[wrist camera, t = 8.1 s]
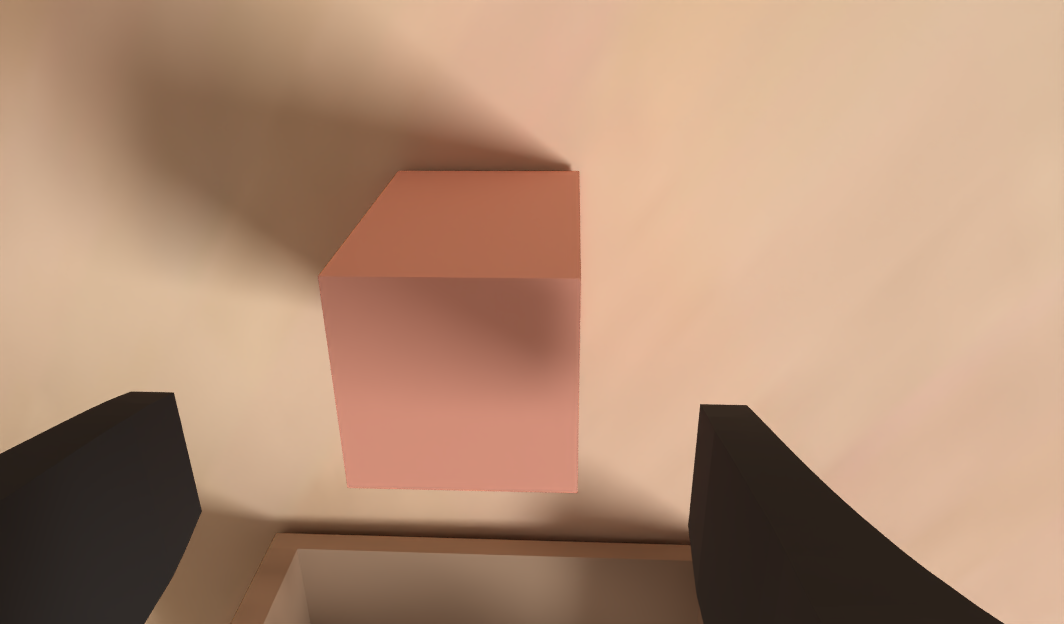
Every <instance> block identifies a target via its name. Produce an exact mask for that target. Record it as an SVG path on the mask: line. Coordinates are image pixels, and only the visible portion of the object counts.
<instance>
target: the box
mask: <svg viewBox="0 0 1064 624" xmlns="http://www.w3.org/2000/svg"><path fill="white" fill-rule="evenodd" d="M231 624H703V620H702V616H701V611H700V607H699V603H698V599H697V594H696V587H695V579H694V571H693V563H692V555H691V546H690V545H669V544H635V543H601V542H567V541H533V540H498V539H464V538H430V537H396V536H362V535H328V534H294V533H276V534H275V536H274V538H273V540H272V542H271V544H270V546H269V548H268V550H267V552H266V554H265V556H264V558H263V560H262V562H261V564H260V566H259V568H258V570H257V572H256V574H255V576H254V578H253V580H252V582H251V584H250V586H249V588H248V590H247V592H246V594H245V596H244V598H243V600H242V602H241V604H240V606H239V608H238V610H237V612H236V614H235V616H234V618H233V620H232V622H231Z"/></svg>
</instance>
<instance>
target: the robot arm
mask: <svg viewBox="0 0 1064 624" xmlns="http://www.w3.org/2000/svg"><path fill="white" fill-rule="evenodd" d="M201 512H202V510H201V506H200V502H199V498H198V493H197V489H196V485H195V481H194V476H193V472H192V468H191V464H190V459H189V455H188V451H187V447H186V442H185V438H184V434H183V430H182V425H181V421H180V417H179V413H178V408H177V404H176V400H175V396H174V393H170V392H129V393H126V394H124V395H121V396H118V397H116V398H113V399H111V400H109V401H106V402H104V403H102V404H100V405H98V406H95V407H93V408H91V409H89V410H87V411H85V412H83V413H81V414H79V415H77V416H75V417H73V418H71V419H69V420H67V421H65V422H62V423H60V424H59V425H57V426H55V427H53V428H51V429H49V430H47V431H45V432H43V433H41V434H39V435H37V436H35V437H33V438H31V439H29V440H27V441H25V442H23V443H21V444H19V445H17V446H15V447H13V448H11V449H9V450H7V451H5V452H3V453H1V454H0V624H144V623H145V622H146V620H147V618H148V617H149V615H150V614H151V612H152V610H153V609H154V607H155V605H156V604H157V602H158V600H159V599H160V597H161V596H162V594H163V592H164V591H165V589H166V587H167V586H168V584H169V582H170V580H171V579H172V577H173V575H174V573H175V571H176V569H177V567H178V564H179V562H180V560H181V558H182V556H183V554H184V552H185V549H186V547H187V545H188V543H189V540H190V538H191V535H192V533H193V531H194V528H195V526H196V523H197V521H198V519H199V516H200V514H201ZM688 528H689V537H690V546H691V555H692V563H693V571H694V579H695V587H696V594H697V599H698V603H699V607H700V611H701V616H702V620H703V624H1004V623H1002V622H1001V621H999V620H998V619H996V618H995V617H993V616H992V615H990V614H989V613H987V612H986V611H984V610H983V609H981V608H980V607H978V606H977V605H975V604H974V603H972V602H971V601H970V600H968V599H967V598H966V597H964V596H963V595H961V594H960V593H959V592H957V591H956V590H954V589H953V588H952V587H950V586H949V585H947V584H946V583H945V582H943V581H942V580H940V579H939V578H938V577H936V576H935V575H933V574H932V573H931V572H929V571H928V570H927V569H925V568H924V567H923V566H921V565H920V564H919V563H917V562H916V561H915V560H914V559H912V558H911V557H910V556H908V555H907V554H906V553H905V552H903V551H902V550H901V549H899V548H898V547H897V546H896V545H895V544H894V543H892V542H891V541H890V540H889V539H888V538H886V537H885V536H884V535H883V534H882V533H880V532H879V531H878V530H877V529H876V528H874V527H873V526H872V525H871V524H870V523H868V522H867V521H866V520H865V519H864V518H862V517H861V516H860V515H859V514H858V513H857V512H856V511H855V510H853V509H852V508H851V507H850V506H849V505H848V504H847V503H846V502H844V501H843V500H842V499H841V498H840V497H839V496H838V495H837V494H836V493H835V492H833V491H832V490H831V489H830V488H829V487H828V486H827V485H826V484H825V483H824V482H823V481H822V480H821V479H820V478H819V477H818V476H817V475H815V474H814V473H813V472H812V471H811V470H810V469H809V468H808V467H807V466H806V465H805V464H804V463H803V462H802V461H801V460H800V459H799V458H798V457H797V456H796V455H795V454H794V453H793V452H792V451H791V450H790V449H789V448H788V447H787V446H786V445H785V444H784V443H783V442H782V441H781V440H780V439H779V438H778V437H777V436H776V435H775V434H774V432H773V431H772V430H771V429H770V428H769V427H768V426H767V425H766V424H765V423H764V422H763V421H762V420H761V419H760V418H759V417H758V416H757V415H756V414H755V413H754V412H753V411H752V410H751V409H750V408H749V407H748V406H747V405H709V404H700V413H699V423H698V433H697V443H696V453H695V463H694V473H693V483H692V493H691V503H690V513H689V523H688Z"/></svg>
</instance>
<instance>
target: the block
mask: <svg viewBox="0 0 1064 624" xmlns="http://www.w3.org/2000/svg"><path fill="white" fill-rule="evenodd" d="M318 281H319V288H320V295H321V302H322V309H323V316H324V323H325V331H326V338H327V345H328V352H329V359H330V366H331V373H332V380H333V387H334V394H335V401H336V409H337V416H338V423H339V430H340V437H341V444H342V451H343V458H344V465H345V472H346V480H347V487H348V488H377V489H422V490H466V491H511V492H555V493H577V485H578V422H579V358H580V295H581V260H580V189H579V171H398V172H397V173H396V175H395V176H394V177H393V178H392V180H391V181H390V182H389V184H388V185H387V186H386V188H385V189H384V190H383V192H382V193H381V194H380V196H379V197H378V198H377V199H376V201H375V202H374V203H373V205H372V206H371V207H370V209H369V210H368V211H367V213H366V214H365V215H364V217H363V218H362V219H361V220H360V222H359V223H358V224H357V226H356V227H355V228H354V230H353V231H352V232H351V234H350V235H349V236H348V238H347V239H346V240H345V241H344V243H343V244H342V245H341V247H340V248H339V249H338V251H337V252H336V253H335V255H334V256H333V257H332V258H331V260H330V261H329V262H328V264H327V265H326V266H325V268H324V269H323V270H322V272H321V273H320V274H319V276H318Z"/></svg>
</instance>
